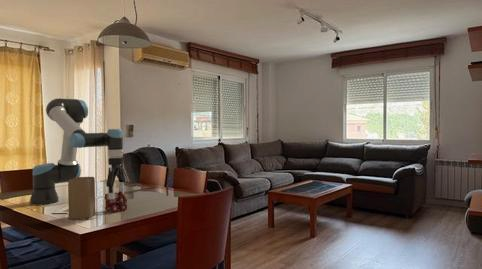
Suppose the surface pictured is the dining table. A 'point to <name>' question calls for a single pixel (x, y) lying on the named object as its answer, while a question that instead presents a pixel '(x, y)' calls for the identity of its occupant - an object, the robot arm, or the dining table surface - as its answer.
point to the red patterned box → (116, 202)
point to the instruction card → (63, 210)
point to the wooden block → (81, 197)
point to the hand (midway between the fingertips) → (116, 196)
